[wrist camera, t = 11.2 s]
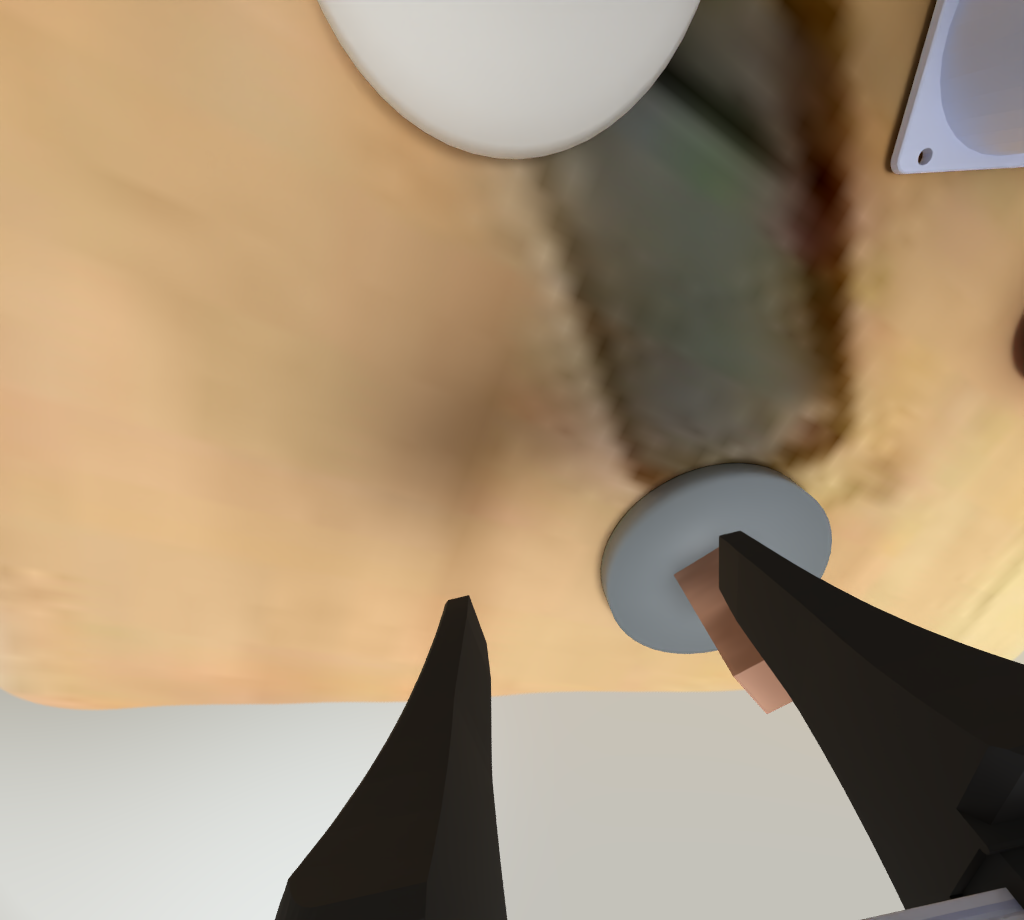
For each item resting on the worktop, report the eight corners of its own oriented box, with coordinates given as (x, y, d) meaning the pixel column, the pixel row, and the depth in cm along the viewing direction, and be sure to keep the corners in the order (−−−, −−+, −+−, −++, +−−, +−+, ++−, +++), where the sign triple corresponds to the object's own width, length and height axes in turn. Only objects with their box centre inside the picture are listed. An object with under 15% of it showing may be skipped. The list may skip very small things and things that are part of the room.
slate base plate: (839, 452, 23) (862, 467, 22) (784, 621, 29) (799, 640, 28) (605, 475, 22) (614, 491, 21) (596, 643, 28) (603, 665, 27)
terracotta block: (735, 537, 23) (815, 632, 18) (762, 576, 25) (844, 675, 19) (673, 574, 24) (733, 676, 19) (703, 610, 26) (766, 714, 20)
